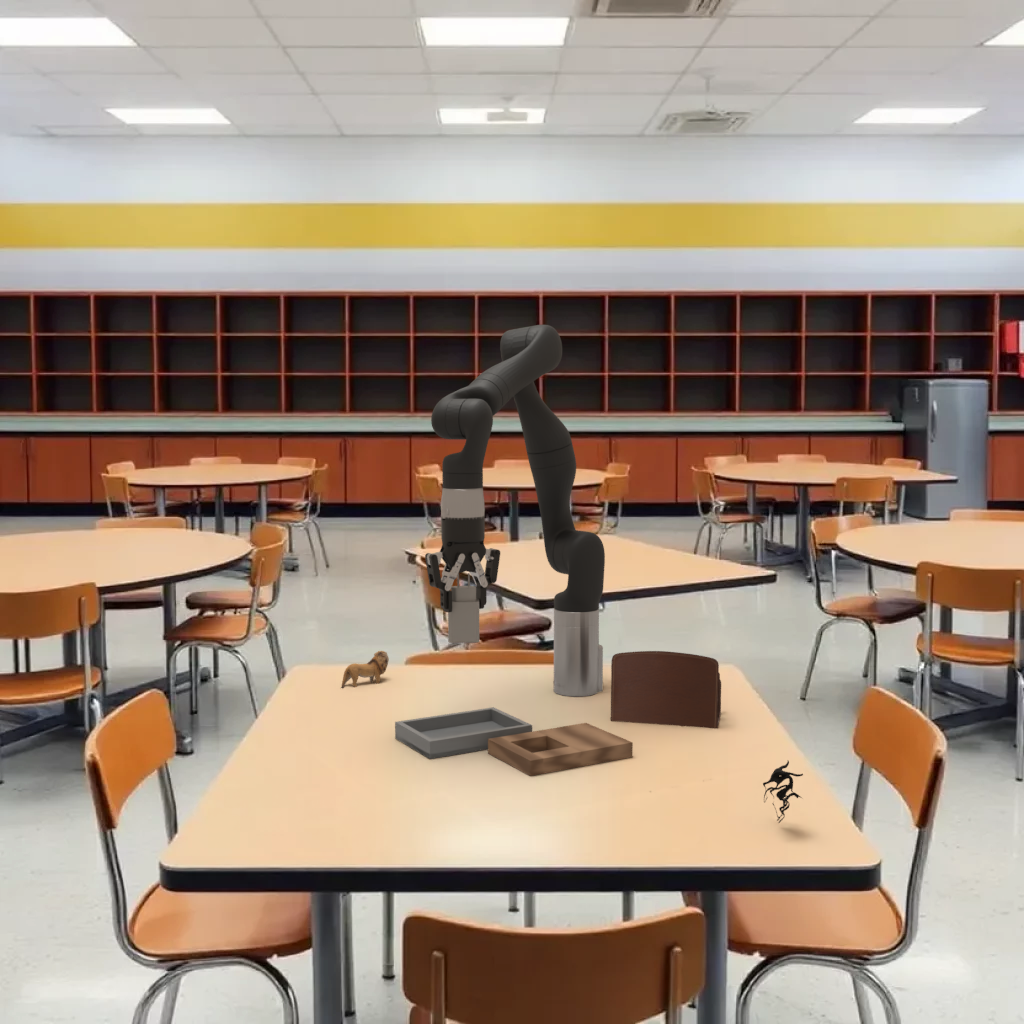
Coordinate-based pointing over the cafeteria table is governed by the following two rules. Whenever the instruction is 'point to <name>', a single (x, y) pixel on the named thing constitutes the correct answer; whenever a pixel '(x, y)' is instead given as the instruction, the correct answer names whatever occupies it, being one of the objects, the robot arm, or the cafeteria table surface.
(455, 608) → the power adapter
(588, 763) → the dock board
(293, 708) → the cafeteria table surface
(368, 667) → the lion figurine
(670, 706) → the letter holder
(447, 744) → the tray
